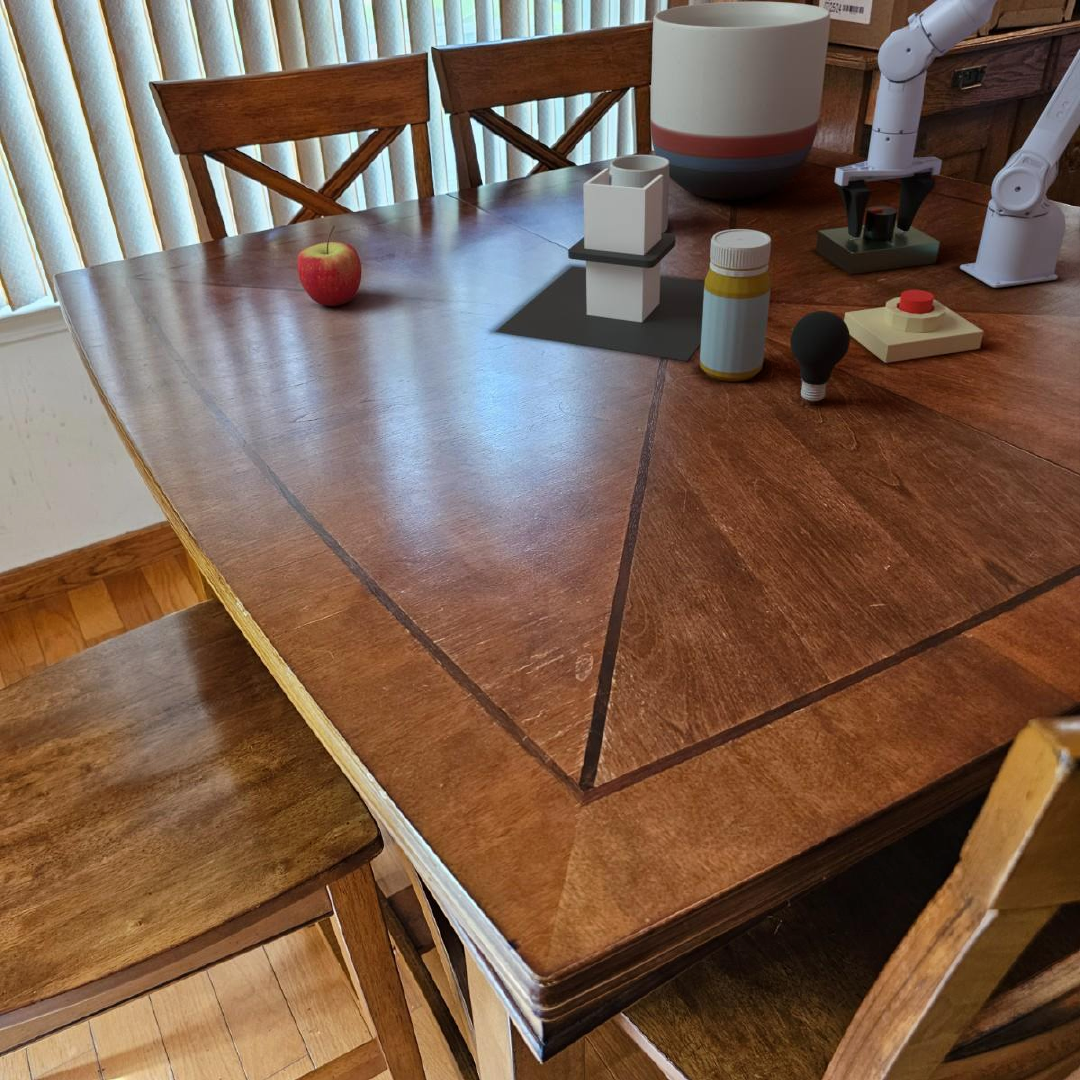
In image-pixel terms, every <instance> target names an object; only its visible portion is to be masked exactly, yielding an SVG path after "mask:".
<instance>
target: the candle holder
mask: <svg viewBox="0 0 1080 1080" xmlns="http://www.w3.org/2000/svg"><path fill="white" fill-rule="evenodd" d="M609 171H610V168H607V167H606V168H604V169H602V170H601V171H600V172H598V173H597V174H595V175H594V176H593V177H591V178H590V179H588V180H587V181H586V182H584V183H582V184H583V186H582V187H583V189H582V190H583V237H582V238H581V239H579V241H577V242H575V244H573V245H572V246H571V247H570V248H568V250H567V258H568V259H570V260H575V261H576V260H577V261H582V262H583V261H584V262H585V267H582V266H575V265H574V266H573V265H572V266H570V267H569V268H568V269H566V270H565V272H564V273H562V274H561V275H560V276H558V278H555V280H554V281H553V282H552V283H550V284H549V285H548V286H547V287H546V288H544V289H543V290H542V291H541V292H540V293H538V295H536V296H534V298H533V299H531V300H530V301H529V302H528V303H527V304H525V305H524V306H523V307H522V308H521V309H519V311H517V312H516V313H514V315H513V316H511V317H510V318H509V319H508V320H506V321H505V323H503V324H502V325H501V326H499V328H497V329H496V330H495V332H496V333H503V334H509V335H515V336H523V337H527V338H528V337H529V338H534V339H542V340H548V341H554V342H561V343H567V344H575V345H581V346H587V347H593V348H599V349H606V350H613V351H620V352H627V353H632V354H637V355H644V356H645V355H646V356H652V357H658V358H665V359H673V360H678V361H685V362H687V361H689V359H690V358H691V357H692V356H693V354H694V353H695V352H696V350H697V349H698V347H699V346H701V334H702V317H703V301H704V285H705V281H697V280H690V279H680V278H672V277H665V276H664V277H663V276H661V264H662V260H663V259H664V258H665V257H666V256H667V255H668V254H669V253H670V252H671V251H672V250H673V249H674V248H675V246H676V235H675V234H673V233H668V232H667V233H666V232H664V233H661V226H662V194H663V175H659V176H657V177H656V178H655V179H654V180H652V181H651V182H650V183H649V184H647V185H646V186H645V187H644V188H634V187H623V186H612V185H610V178H609Z"/></svg>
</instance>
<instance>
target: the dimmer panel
mask: <svg viewBox="0 0 1080 1080" xmlns="http://www.w3.org/2000/svg"><path fill="white" fill-rule="evenodd" d="M864 225H865V224H863V226H862V232H861V235H860V237H859V238H854V237H853V236H851V235H849V234H848V226H846V227H836V228H830V229H829V228H828V229H821V230H818V231H817V239H816V247H815V252H816V253H817V254H819V255H821V257H823V258H825V259H826V260H827V261H829V262H830V263H832V264H834V265H835V266H836V267H838V268H839V269H841V270H842V271H843V272H845V273H846V274H848V275H849V276H850V275H859V274H865V273H866V274H867V273H873V272H881V271H888V270H896V269H903V268H910V267H917V266H924V265H931V264H932V265H933V264H937V259H938V254H939V248H940V244H941V241H939V240H938V239H935V237H934V238H933V237H932V236H931V235H929V234H927V233H925V232H923V231H922V230H920V229H918V228H915V227H914V226H913V225H911V226H910V229H909V231H906V232H904V231H902V230H901V229H899V228H897V220H896V222H895V228H894V234H893V237H892V238H891V239H888V240H872V239H868V238H865V237H864V236H863V232H864Z"/></svg>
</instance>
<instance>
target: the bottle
mask: <svg viewBox="0 0 1080 1080" xmlns="http://www.w3.org/2000/svg"><path fill="white" fill-rule="evenodd" d="M771 248H772V239H771V236H770V235H768V234H767V233H766V232H765V233H764V232H763V231H760V230H755V229H747V228H745V229H744V228H734V229H726V230H722V231H718V232H716V233H714V234H713V235H712V237H711V238H710V251H709V252H710V253H709V258H710V260H709V261H710V262H709V270H708V272H707V274H706V276H705V279H704V282H705V285H704V301H703V317H702V334H701V343H700V352H699V353H700V354H699V365H700V368H701V370H702V371H703V372H704V374H706V375H707V376H709V377H711V378H712V379H714V380H719V381H723V382H741V381H747V380H749V379H752V378H754V377H755V376H757V374H759V372H760V371H762V369H763V365H764V358H765V348H766V347H765V346H766V338H767V328H768V320H769V319H768V318H769V307H770V297H771V287H772V286H771V285H772V280H771V278H770V273H769V262H770V261H769V260H770V258H771Z"/></svg>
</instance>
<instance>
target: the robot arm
mask: <svg viewBox="0 0 1080 1080" xmlns="http://www.w3.org/2000/svg"><path fill="white" fill-rule="evenodd" d="M998 1H999V0H935V1H934V2H932V4H930V5H929V6H928V7H926V8H925V9H923V10H922V11H921V12H920V13H918V12H914V13H913V14H911V15H910V16H909V17H908V18H907V21H908V23H909V24H908V25H907V26H905V27H904V26H903V27H902V28H900V29H897V30H893V31H892V32H891V33H890V35H889V36H888V37H887V38H886V39H884V42H883V43H882V44H881V46H880V48H879V50H878V54H877V65H878V69H879V71H880V77H879V78H880V79H879V85H878V90H877V93H876V100H875V105H874V106H875V107H874V113H873V121H872V128H871V134H870V142H869V149H868V155H867V160H865V161H862V162H861V161H860V162H857V163H853V164H850V165H846V166H839V167H836V168H835V174H834V183H835V184H837V189H838V191H839V193H840V197H841V199H842V201H843V205H844V209H845V215H846V220H847V221H846V222H847V227H848V234H849V235H851V236H853V237H854V238H859V237H860V235H861V232H862V226H863V225H864V220H865V219H864V218H865V215H866V211H867V206H868V203H869V200H870V198H871V196H872V194H873V191H872V190H870V189H869V188H867V184H865V183H867V182H876V181H884V180H891V179H892V180H893V179H899V185H900V186H899V187H900V191H899V192H900V193H899V197H900V198H899V205H898V210H897V216H896V221H897V228H899V229H901V230H902V231H904V232H906V231H909V229H910V226H912V224H913V222H914V219H915V217H916V216H917V214H918V211H919V209H921V206H922V205H923V203H924V201H925V200H926V198H927V197H928V195H929V194H930V193H931V192H932V190H933V189H935V186H936V183H937V182H936V181H937V180H936V178H934V177H932V176H939V175H940V173H941V169H942V164H943V160H942V159H940V158H938V157H936V156H926V157H925V156H924V157H914V154H915V150H916V144H917V138H918V137H917V136H918V131H919V125H920V120H921V113H922V108H923V103H924V96H925V85H926V78H927V73H928V70H927V69H928V68H929V67H930V66H931V64H933V61H934V60H935V58H936V57H943V56H944V55H945V54H946V53H948V52H949V51H950V50H952V49H953V48H955V47H956V46H957V45H959V44H960V43H962V42H964V40H965V39H967V38H968V37H970V36H971V35H972V34H973V33H975V32H977V31H978V30H979V29H980V28H982V27H983V26H985V25H986V24H988V22H990V19H991V17H992V14H993V13H992V12H993V9H994V7H995V4H996V2H998ZM1079 126H1080V49H1078V51H1077V53H1076V55H1075V56H1074V58H1073V59H1072V62H1071V63H1070V65H1069V67H1068V68H1067V70H1066V72H1065V74H1064V76H1063V77H1062V79H1061V81H1060V82H1059V84H1058V86H1057V88H1056V89H1055V91H1054V93H1053V94H1052V96H1051V98H1050V100H1049V101H1048V103H1047V105H1046V106H1045V108H1044V110H1043V111H1042V113H1041V115H1040V116H1039V118H1038V120H1037V122H1036V124H1035V125H1034V127H1033V128H1032V130H1031V132H1030V134H1029V135H1028V137H1027V138H1026V140H1025V142H1024V143H1023V145H1022V147H1021V148H1019V149H1018V150H1017V151H1015V152H1014V153H1013V154H1011V156H1010V157H1009V159H1008V160H1007V161H1006V163H1005V165H1004V167H1003V168H1001V170H999V172H997V174H996V175H995V177H994V178H993V181H992V183H991V188H990V189H991V190H990V194H991V199H990V200H989V201H988V205H987V209H986V215H985V219H984V224H983V227H982V231H981V238H980V242H979V245H978V250H977V255H976V261H975V262H971V263H964V264H961V265H960V266H959V270H962V271H963V272H966V273H967V274H969V275H971V276H972V277H974V278H976V279H977V280H979V281H981V282H983V283H984V284H986V285H988V286H989V287H991V288H994V289H999V288H1006V287H1013V286H1019V285H1026V284H1033V283H1040V282H1048V281H1055V280H1057V279H1058V275H1057V274H1055V270H1056V267H1057V263H1058V259H1059V257H1060V256H1059V255H1060V252H1061V248H1062V245H1063V241H1064V237H1065V233H1066V218H1065V217H1066V216H1065V214H1064V212H1063V210H1062V209H1061V208H1060V206H1058V205H1057V204H1054V203H1050V202H1049V200H1048V197H1047V192H1048V190H1049V188H1050V187H1051V186H1052V185H1053V184H1054V182H1055V180H1056V179H1057V176H1058V173H1059V163H1060V159H1061V156H1062V155H1063V153H1064V151H1065V150H1066V148H1067V146H1068V145H1069V143H1070V141H1071V140H1072V138H1073V136H1074V135H1075V133H1076V131H1077V130H1078V128H1079Z"/></svg>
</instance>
